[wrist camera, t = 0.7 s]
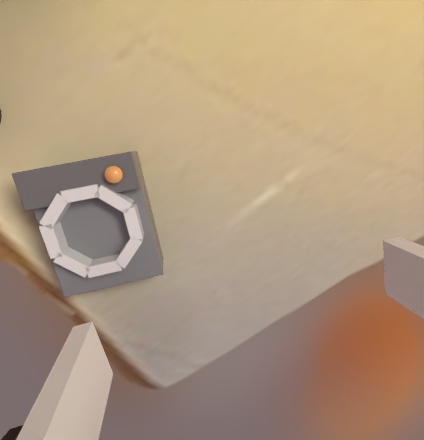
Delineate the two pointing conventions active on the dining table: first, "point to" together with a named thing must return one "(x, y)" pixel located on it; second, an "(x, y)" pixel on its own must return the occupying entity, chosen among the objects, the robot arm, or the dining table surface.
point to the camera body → (94, 221)
